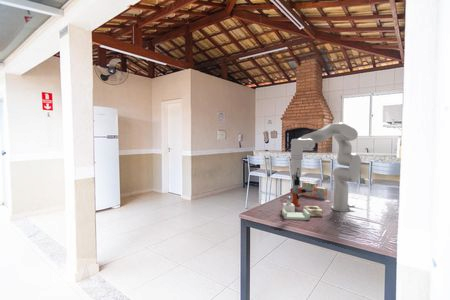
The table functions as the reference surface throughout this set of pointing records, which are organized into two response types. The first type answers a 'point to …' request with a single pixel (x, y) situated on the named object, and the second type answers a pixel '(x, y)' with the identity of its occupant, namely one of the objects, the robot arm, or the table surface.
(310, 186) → the stack of blocks
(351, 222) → the table surface
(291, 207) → the housing
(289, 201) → the grey ball-topped peg
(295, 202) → the toy drill
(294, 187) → the grey round peg
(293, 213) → the tray
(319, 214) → the socket
